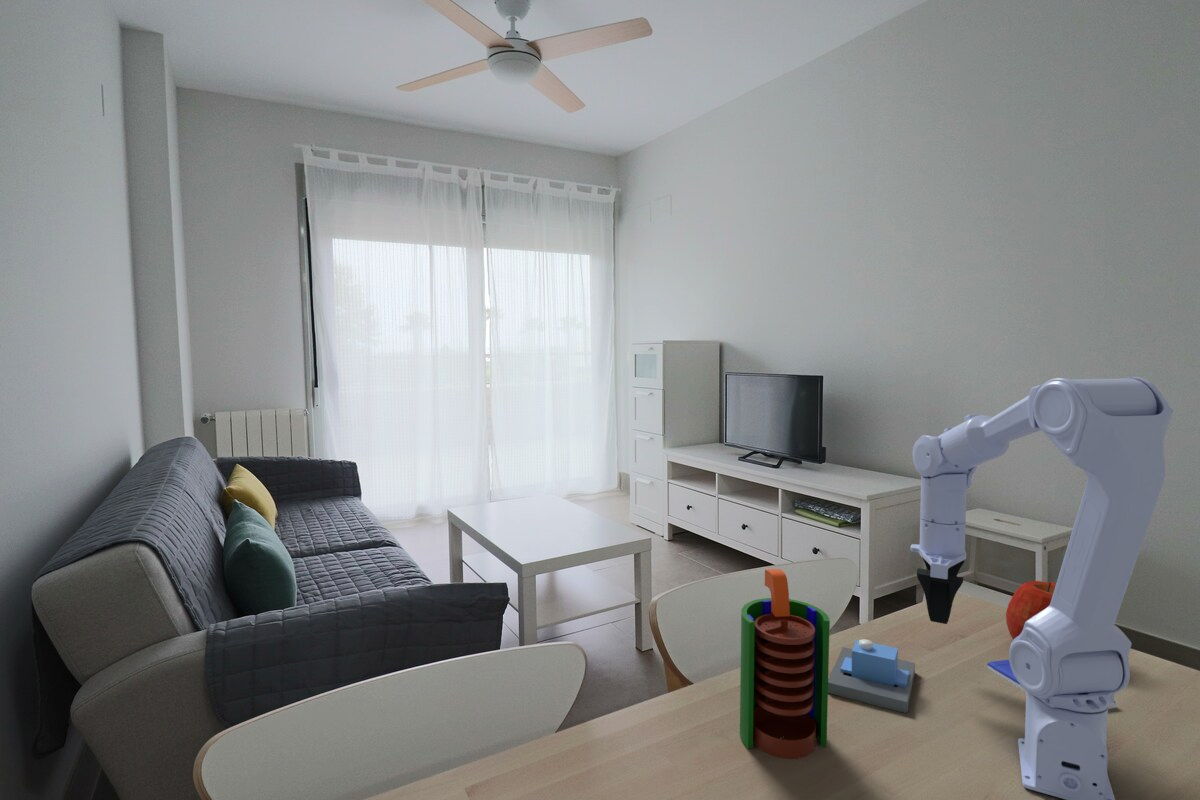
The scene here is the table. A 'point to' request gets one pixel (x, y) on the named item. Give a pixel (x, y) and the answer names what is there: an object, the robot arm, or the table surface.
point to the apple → (1027, 604)
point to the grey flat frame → (871, 686)
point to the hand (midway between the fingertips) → (940, 612)
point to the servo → (875, 664)
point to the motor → (783, 672)
